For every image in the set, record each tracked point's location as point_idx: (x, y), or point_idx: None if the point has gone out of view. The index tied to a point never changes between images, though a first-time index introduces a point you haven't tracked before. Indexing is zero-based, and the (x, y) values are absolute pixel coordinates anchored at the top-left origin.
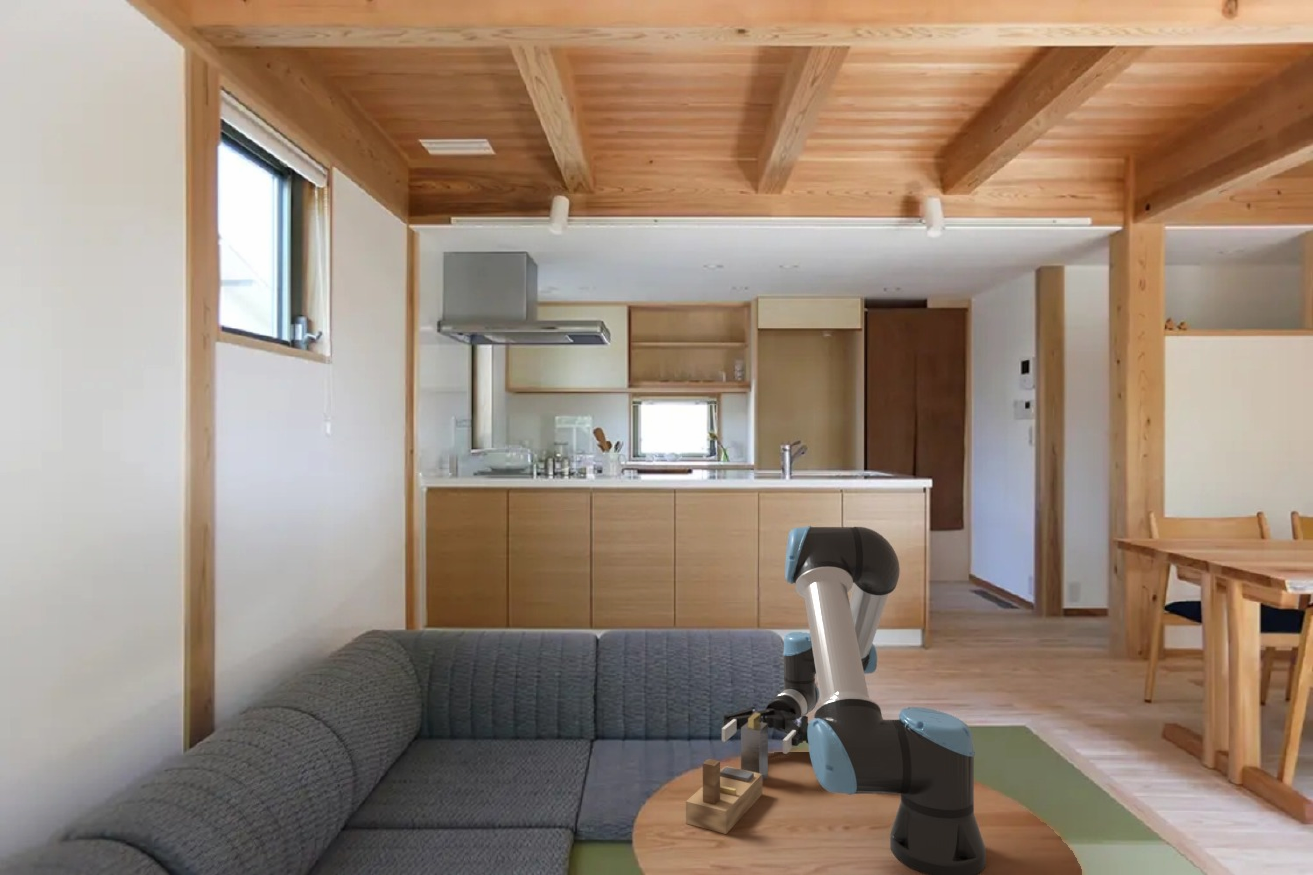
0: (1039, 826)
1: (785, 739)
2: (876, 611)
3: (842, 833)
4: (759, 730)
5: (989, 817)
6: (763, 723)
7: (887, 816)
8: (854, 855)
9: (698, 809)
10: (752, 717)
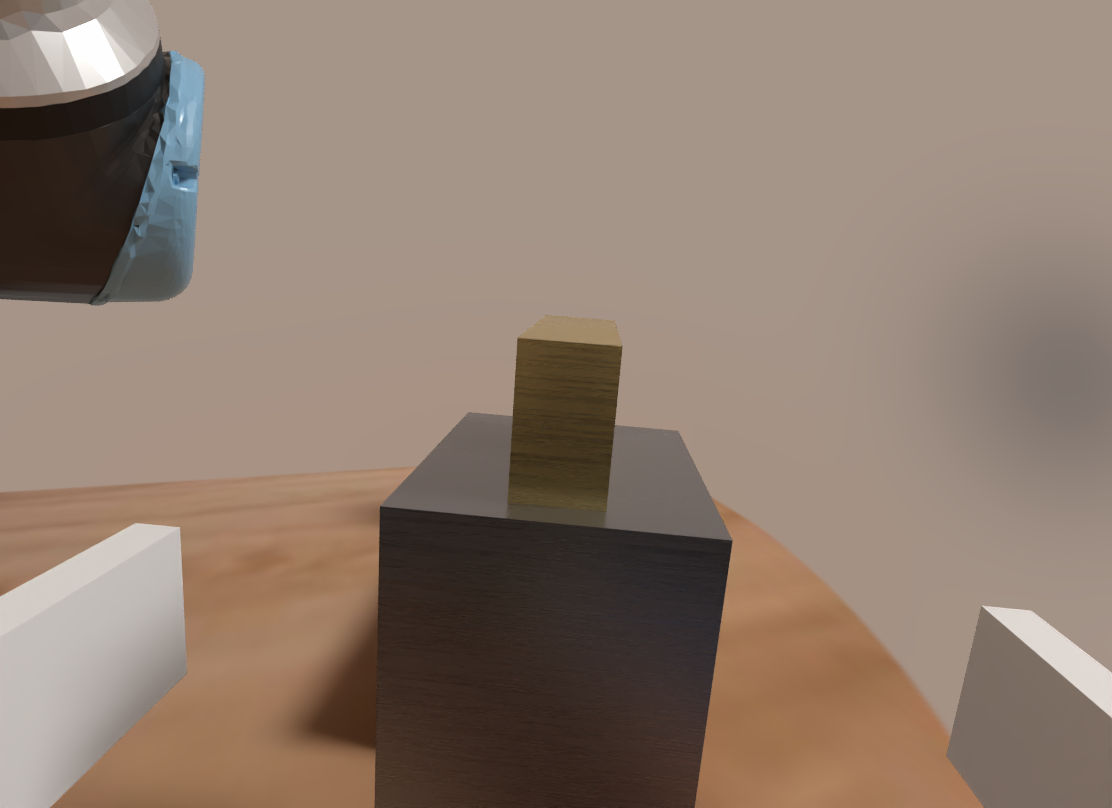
0: None
1: (135, 537)
2: None
3: (37, 567)
4: (467, 417)
5: None
6: (456, 503)
7: None
8: (75, 504)
9: None
10: (580, 324)
